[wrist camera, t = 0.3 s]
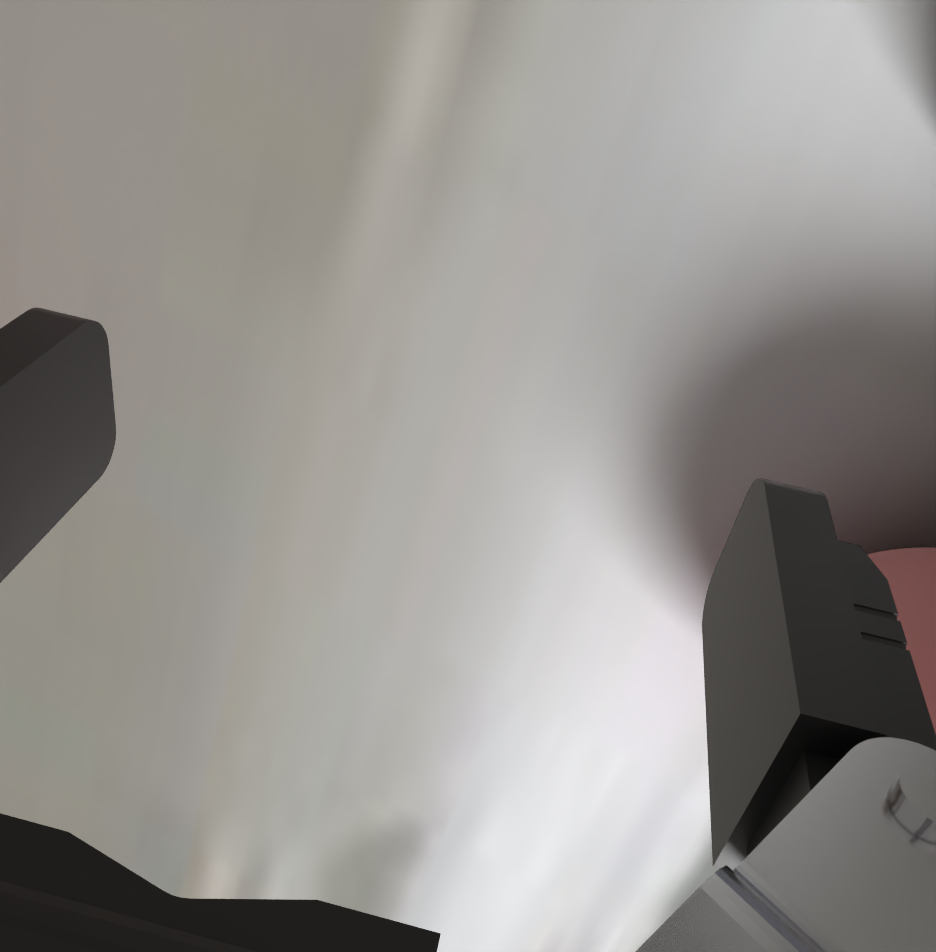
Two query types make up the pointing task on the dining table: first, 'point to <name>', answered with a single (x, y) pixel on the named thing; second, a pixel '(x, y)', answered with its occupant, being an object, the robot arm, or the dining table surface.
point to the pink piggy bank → (915, 609)
